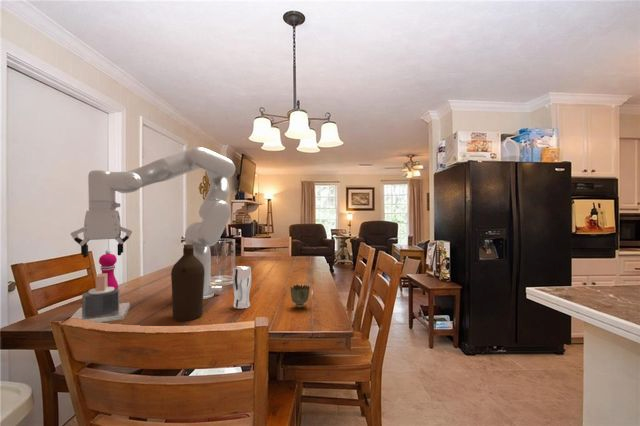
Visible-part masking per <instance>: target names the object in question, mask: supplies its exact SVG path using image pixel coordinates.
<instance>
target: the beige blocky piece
mask: <svg viewBox="0 0 640 426" xmlns="http://www.w3.org/2000/svg"><path fill="white" fill-rule="evenodd" d="M107 276H108V273H104V274H102V273H99V274H97V275H96V276H95V288H91V289H88V292H89V295H103V294H108V293H112V292H114V287H107Z"/></svg>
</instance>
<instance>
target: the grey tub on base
mask: <svg viewBox="0 0 640 426" xmlns="http://www.w3.org/2000/svg"><path fill="white" fill-rule="evenodd" d="M81 296H82V297H81V300H82V302H81V306H82V307H80V308H78V309H77V310H76V312H75V313H73V314H72V315H71V316H70V318H78V319H82V320H89V321H97V322H98V323H105V322H106V323H107V322H111V321H112V322H113V321H121V320H124V319H125V318H126V315H127V313H128V311H129V309H130V306H131V302H122V303H120V289H119V288H118V289H114V292H112V293H108V294H103V295H89V291H87V292H84V293H82V295H81Z"/></svg>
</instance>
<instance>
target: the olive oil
mask: <svg viewBox="0 0 640 426" xmlns="http://www.w3.org/2000/svg"><path fill="white" fill-rule="evenodd" d="M182 250H183V251H182V254H183V255H181V257H180V258H179V259H178V260H177V261H176V262H175V264H173V266H172V269H171V272H170V273H171V274H170V275H171V276H170V278H171V279H170V280H171V295H172V296H171V297H172V298H171V300H172V304H171V305H172V319H173V320H174V321H179V322H185V321H187V322H188V321H192V320H196V319H199V318H201V317H202V316H203V307H204V306H203V305H204V299H203V291H204V275H205V270H204V266H203V264H202V263H201V262H200V261H199V260H198V259H197V258H196V257H195V256H194V248H193V244H186V243H184V244H183V248H182Z"/></svg>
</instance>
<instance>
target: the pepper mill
mask: <svg viewBox="0 0 640 426" xmlns="http://www.w3.org/2000/svg"><path fill="white" fill-rule="evenodd" d="M117 260H118V259H117V256H116V255H115V254H112V251H111V250H110V249H108V250H105V254H102V255H101V256H99V259H98V263H99V265H100V270H101V274H104V273H108V276H107V287H114V289H118V290H119V284H118V281H117V279H116V277H115V269H116V263H117Z"/></svg>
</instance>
